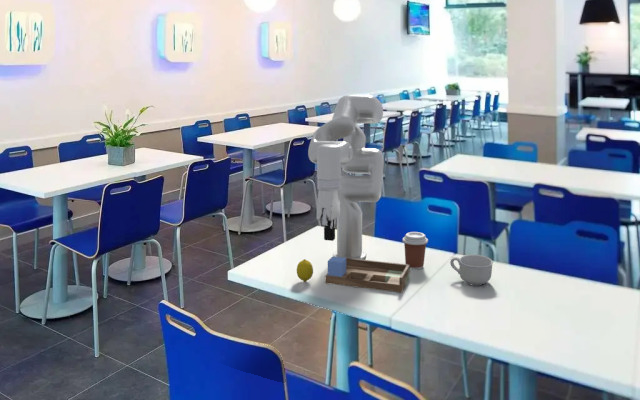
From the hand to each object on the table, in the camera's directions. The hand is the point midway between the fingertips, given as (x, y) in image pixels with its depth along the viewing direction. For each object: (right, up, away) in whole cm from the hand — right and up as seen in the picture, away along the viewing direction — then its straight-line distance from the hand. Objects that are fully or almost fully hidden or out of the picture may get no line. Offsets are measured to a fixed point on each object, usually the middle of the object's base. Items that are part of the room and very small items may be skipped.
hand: (329, 239), depth 182 cm
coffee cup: (+31, -12, +24) cm, 41 cm away
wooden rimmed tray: (+13, -15, +10) cm, 22 cm away
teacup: (+48, -15, +9) cm, 51 cm away
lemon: (-8, -15, +10) cm, 20 cm away
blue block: (+3, -12, +10) cm, 16 cm away
